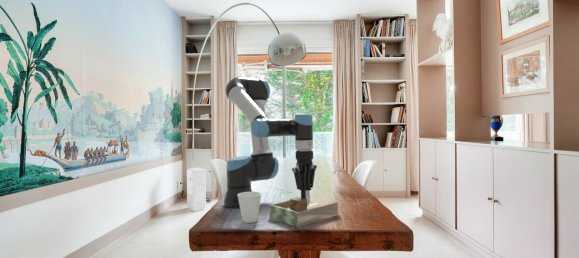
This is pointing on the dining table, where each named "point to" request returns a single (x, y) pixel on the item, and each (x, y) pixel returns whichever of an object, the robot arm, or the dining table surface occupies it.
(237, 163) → the robot arm
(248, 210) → the cup
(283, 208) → the box
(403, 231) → the dining table surface
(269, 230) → the dining table surface
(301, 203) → the block
